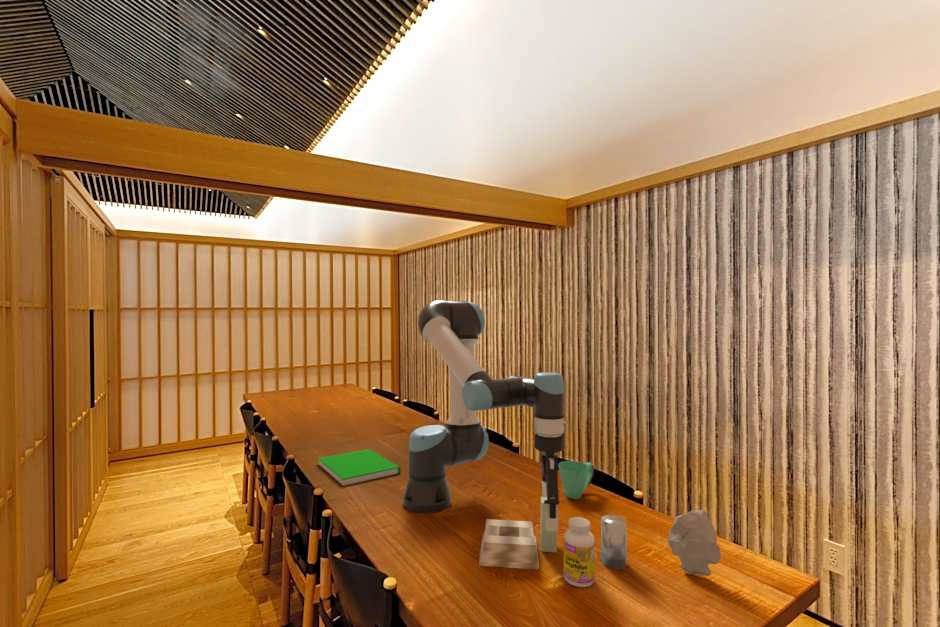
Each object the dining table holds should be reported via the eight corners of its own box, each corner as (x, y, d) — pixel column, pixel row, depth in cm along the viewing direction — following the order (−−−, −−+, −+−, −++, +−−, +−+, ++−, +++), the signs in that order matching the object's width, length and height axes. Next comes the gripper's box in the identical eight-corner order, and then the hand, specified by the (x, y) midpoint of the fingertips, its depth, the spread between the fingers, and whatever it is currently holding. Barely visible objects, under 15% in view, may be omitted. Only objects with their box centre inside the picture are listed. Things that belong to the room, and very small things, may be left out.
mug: (575, 504, 134) (575, 472, 134) (552, 494, 142) (552, 464, 142) (603, 494, 143) (604, 464, 143) (580, 485, 151) (580, 456, 151)
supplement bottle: (559, 582, 94) (559, 523, 94) (569, 567, 99) (569, 512, 100) (589, 592, 90) (589, 531, 90) (597, 577, 96) (598, 519, 96)
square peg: (541, 551, 106) (541, 503, 107) (540, 543, 110) (540, 496, 110) (556, 552, 106) (557, 503, 106) (555, 544, 110) (555, 497, 110)
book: (342, 487, 147) (342, 478, 147) (317, 465, 170) (317, 458, 170) (400, 474, 161) (400, 466, 161) (370, 455, 183) (370, 448, 183)
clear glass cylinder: (603, 568, 99) (604, 525, 99) (598, 555, 105) (598, 514, 105) (629, 570, 98) (629, 526, 99) (622, 556, 104) (622, 515, 104)
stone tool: (665, 569, 99) (665, 504, 99) (669, 562, 102) (669, 499, 102) (719, 588, 92) (719, 518, 92) (722, 580, 95) (721, 512, 95)
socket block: (479, 565, 100) (479, 544, 100) (482, 536, 114) (483, 517, 114) (539, 569, 98) (539, 547, 98) (535, 539, 112) (535, 520, 112)
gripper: (570, 447, 96) (571, 542, 95) (558, 423, 121) (559, 499, 120) (537, 446, 97) (537, 541, 96) (532, 422, 121) (532, 498, 121)
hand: (549, 518), depth 108 cm, fingers open, 13 cm apart
